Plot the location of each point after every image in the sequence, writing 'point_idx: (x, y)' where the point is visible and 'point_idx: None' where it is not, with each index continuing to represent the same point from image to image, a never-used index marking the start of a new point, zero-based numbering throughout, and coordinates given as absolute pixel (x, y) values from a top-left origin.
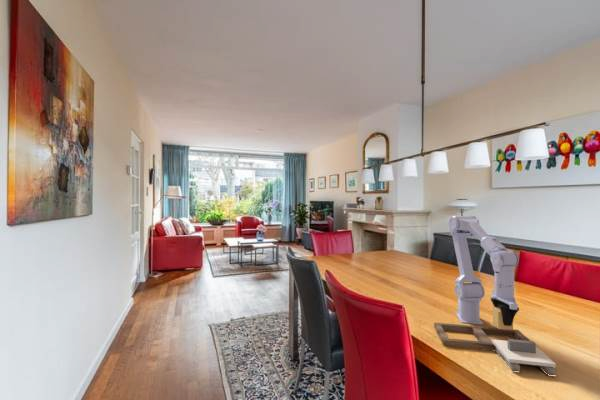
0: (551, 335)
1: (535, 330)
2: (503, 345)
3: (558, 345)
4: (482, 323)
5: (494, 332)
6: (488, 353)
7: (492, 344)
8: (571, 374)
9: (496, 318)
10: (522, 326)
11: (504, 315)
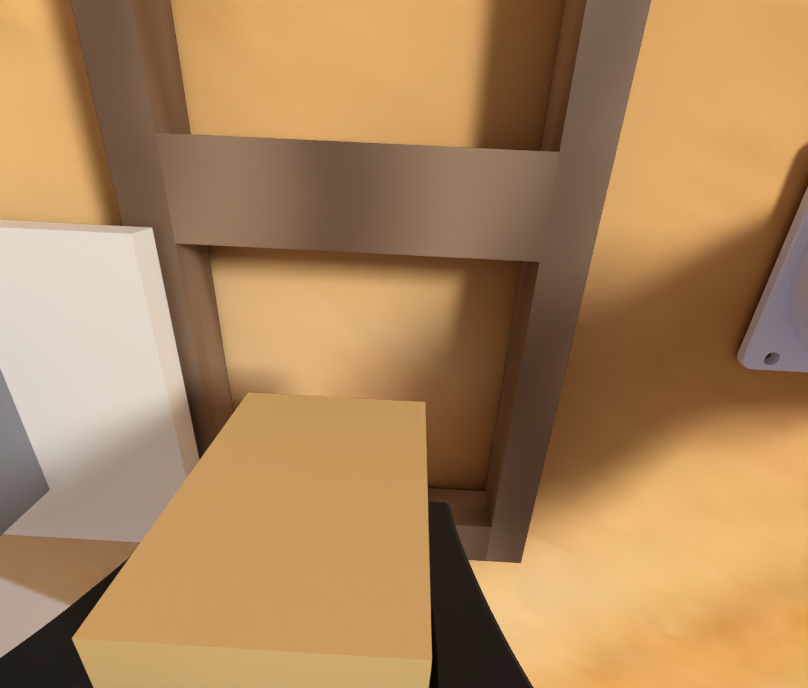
0: (529, 672)
1: (599, 639)
2: (19, 295)
3: None
4: (745, 358)
5: (508, 376)
6: (96, 143)
7: (125, 216)
8: (54, 542)
9: (267, 479)
10: (666, 607)
11: (29, 647)
